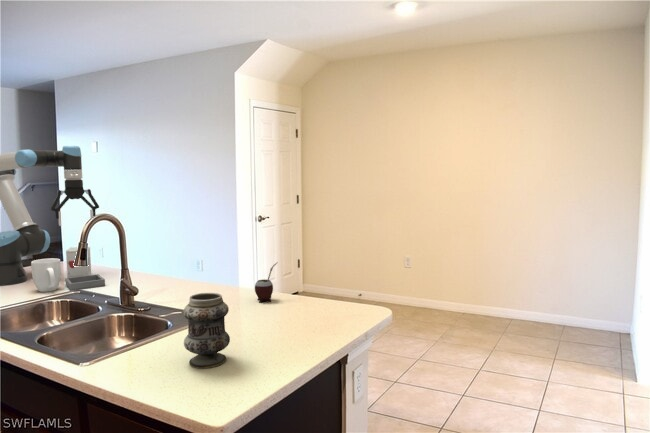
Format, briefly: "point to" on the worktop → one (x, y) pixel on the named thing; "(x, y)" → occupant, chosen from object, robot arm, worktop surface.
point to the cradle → (84, 282)
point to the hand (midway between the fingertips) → (76, 224)
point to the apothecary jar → (206, 329)
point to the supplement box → (76, 271)
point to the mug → (46, 274)
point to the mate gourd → (264, 289)
